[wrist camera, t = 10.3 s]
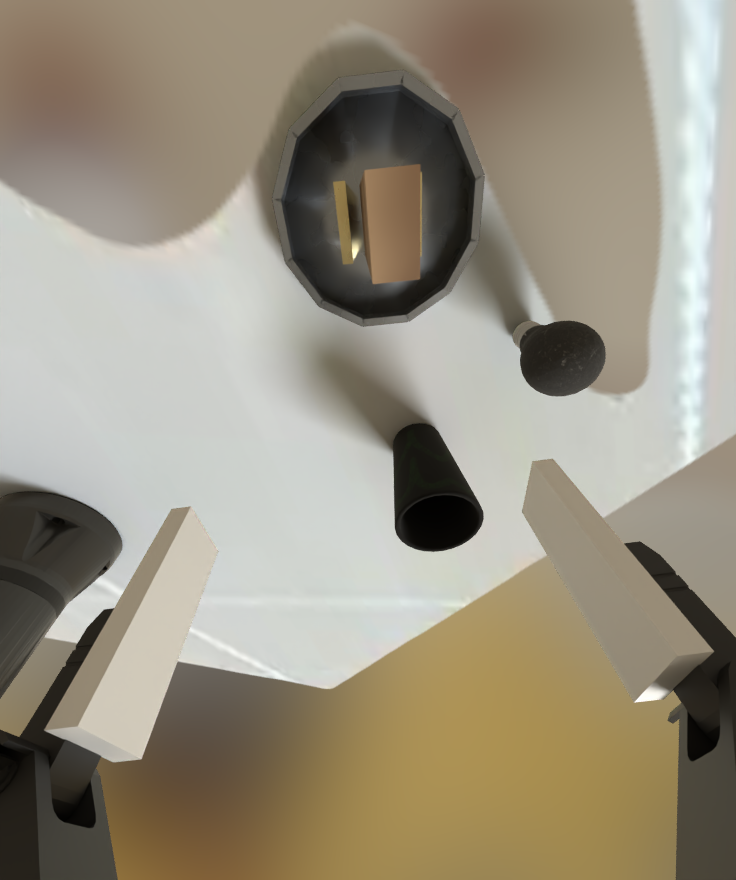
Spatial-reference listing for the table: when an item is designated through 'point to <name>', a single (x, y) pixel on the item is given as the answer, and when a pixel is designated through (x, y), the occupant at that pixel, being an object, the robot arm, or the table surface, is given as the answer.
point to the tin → (339, 205)
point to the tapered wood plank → (391, 222)
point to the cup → (431, 493)
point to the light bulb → (559, 356)
